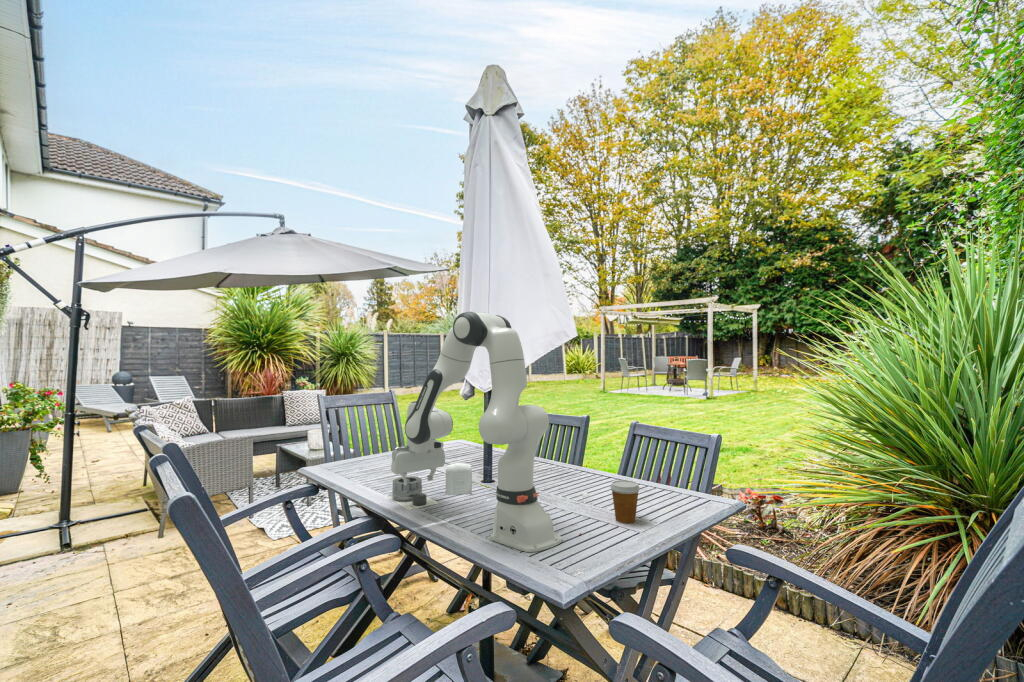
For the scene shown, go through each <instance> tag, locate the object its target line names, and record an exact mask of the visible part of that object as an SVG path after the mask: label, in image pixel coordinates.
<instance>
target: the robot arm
mask: <svg viewBox="0 0 1024 682" xmlns="http://www.w3.org/2000/svg"><path fill="white" fill-rule="evenodd" d="M444 339H445V340H444V341H443V343H442V347H441V351H440V354H439V357H438V359H437V361H436V363H435V365H434V367H433V368H432V370H431V371H430V372H429V373H428V375H427V376H426V378H425V380H424V383H423V385H422V387H421V389H420V393H419V395H418V397H417V399H416V401H411V402H410V403H409V404H408V406H407V413H406V421H405V423H404V434H405V436H406V445H405V446H398V447H395V448H394V449H393V450H392V451H391V464H390V465H391V468H390V469H391V470H390V471H391V472H392V474H394V475H400V476H401V477H402V478H403V480H404V485H409V484H410V483H409V482H410V480H408V479H407V478H406V477H408V473H413V472H419V471H425V470H430V473H429V474H427V481H430V482H431V481H434V476H435V474H436V472H437V468H438V469H439V468H443V467H444V466H445V465H446V453H445V450H444V442H443V441H441V440H438V439H441V438H444V437H446V436H449V435H450V434H451V432H452V431H453V427H454V421H453V417H452V416H451V414H450V413H449V412H448V411H445V410H443V409H440V408H438V407H436V404H437V401H438V398H439V396H440V395H441V394H442V393H443V392H444V390H446V389H447V388H449V387H450V386H452V385H454V384H457V383H459V382H460V381H462V380H463V379H464V378H466V376H467V374H468V373H469V370H470V368H471V364H472V361H473V357H474V353H475V351H476V349H477V348H478V347H484V348H486V350H487V353H488V358H489V359H488V360H489V369H490V376H491V378H490V379H491V395H490V399H489V403H488V406H487V408H486V410H485V411H484V412H483V414H482V415H481V416H480V418H479V421H478V432H479V435H480V437H481V439H482V440H483V441H484V442H485V443H487V444H488V445H495V446H497V445H498V446H500V445H501V446H504V445H507V448H506V450H505V452H504V453H503V454H502V455H501V456H500V458H499V459H498V461H497V486H496V491H495V495H496V497H495V498H496V500H497V502H496V506H495V509H494V514H493V524H492V525H493V528H492V533H491V534H490V537H489V539H490V541H494V542H496V543H499V544H502V545H504V546H508V547H510V548H513V549H516V550H520V551H522V552H525V553H535V552H542V551H545V550H548V549H551V548H553V547H556V546H557V545H559V544H561V543H562V542H563V537H562V536H561V535H559V534H557V533H556V532H555V530H554V522H553V518H552V517H551V515H550V514H549V512H548V513H547V512H546V510H545V509H544V508H543V506H542V505H541V504H540V503H539V500H538V497H540V495H539V494H540V492H537V491H536V487H535V486H534V467H535V466H534V464H535V457H536V453H537V450H538V446H539V444H540V442H541V439H542V438H543V436H544V435H545V433H547V431H548V429H549V426H550V417H549V415H548V413H547V410H546V409H545V408H543V407H542V406H539V405H534V404H524V405H523V404H522V405H519V404H520V402H519V401H520V396H521V395H522V392H524V390H525V389H526V388H527V386H528V377H527V370H526V362H525V354H524V350H523V345H522V342H521V340H520V336H519V333H518V332H517V331H516V330H515V329H513V328H512V326H511V323H510V322H509V320H508V319H507V318H505V317H504V316H501V315H498V314H491V313H487V312H482V311H481V312H479V311H478V312H475V311H474V312H473V311H465V312H461V313H460V314H458V315H457V316H456V317H455V319H454V321H453V324H452V327H450V328H449V331H448V332H447V335H446V337H445V338H444Z"/></svg>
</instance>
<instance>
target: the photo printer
mask: <svg viewBox="0 0 1024 682" xmlns="http://www.w3.org/2000/svg"><path fill="white" fill-rule="evenodd" d="M472 493H473V469H472V466H471V464H469V463H465V462H464V463H462V462H456V463H451V464H448V465H446V469H445V494H446V495H448V496H449V495H467V494H468V495H473V494H472Z"/></svg>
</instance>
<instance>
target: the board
mask: <svg viewBox="0 0 1024 682" xmlns="http://www.w3.org/2000/svg"><path fill="white" fill-rule="evenodd" d="M386 498H387V499H389V500H391V501H392V502H394V503H396V504H398V505H399V506H401V507H403V508H404V509H406V510H408V511H410V510H414V509H419V508H423V507H427V506H432V505H436V504H439V501H436V500H434V499H432V498H429V497H428V496H426V498H427V504H426V505H423V506H414V505H413V501H410V502H398V501H394V500H393V499H392V495H391V496H386Z"/></svg>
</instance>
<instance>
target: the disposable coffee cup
mask: <svg viewBox="0 0 1024 682" xmlns="http://www.w3.org/2000/svg"><path fill="white" fill-rule="evenodd" d="M609 487H610V490H611V495H612V501H613V510H614V516H615V520H616V521H617V522H619V523H622V524H632V523H635V522H636V519H637V518H636V516H637V507H638V500H639V499H638V498H639V491H640V489H641V488H640V487H641V486H639V483H638V482H636V481H633V480H626V479H625V480H624V479H619V480H614V481H611V485H610V486H609Z"/></svg>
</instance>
